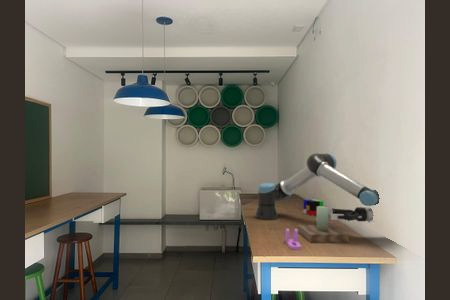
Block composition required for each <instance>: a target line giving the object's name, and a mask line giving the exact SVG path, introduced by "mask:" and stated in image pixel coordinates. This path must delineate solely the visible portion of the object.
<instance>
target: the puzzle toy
mask: <svg viewBox="0 0 450 300" xmlns="http://www.w3.org/2000/svg"><path fill="white" fill-rule="evenodd" d="M317 206H324V201H323V200H320V199H319V200H318V199H315V198H313V199H303V207H302V208H303V209H302V211H303V214H304V215H305V214H306V215H308V214H309V215H308V216H312V215H315V216H317Z"/></svg>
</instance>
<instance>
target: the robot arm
mask: <svg viewBox="0 0 450 300" xmlns="http://www.w3.org/2000/svg"><path fill="white" fill-rule="evenodd" d="M336 168H337V160H336V157H335V156H334V155H333V154H330V153H313V154H311V155H309V156H308V158H307V160H306V166H305V167H304V168H303V169H301V170H300V171H298V172H297V173H295V174H294V175H292V176H291V177H289V178H288V179H286V180H280V182H278V183H277V184H276V183H273V182H264V183H260V184H259V185H258V190H257V191H258V192H257V194H258V196H257V197H258V200H257V202H258V206H257V208H256V212H255V218H256V219H260V220H270V221H271V220H276V219H279V218H278V212H277V208H276V202H279V201H280V202H281V201H286V200H288V199H290V198H291V197H292V195H293V193H294V192H295V190H297V189H298V188H301V187H302V186H303V185H305V184H307V183H308V182H309V181H311V180H313V179H314V178H316V177H319V178H320V177H322V178H324V179H326V180H327V181H329V182H331V183H332V184H334V185H336V186H338V187H339V188H340V189H342V190H344V191H345V192H347V193H348V194H349V195H352V196H353V197H355V198H357V199H358V200H359V202H360V203H361V204H362V205H363V206H365V207H363V206H361V207H359V206H357V207H355V209H354V210H353V209H345V208H344V209H343V208H342V209H341V208H334V207H333V208H331V209H330V208H329V212H328V215H330V220H332V221H333V220H335V221H337V220H339V221H343V220H344V221H348V222H349V221H357V222H368V223H371V222H373V221H372V220H373V216H374V215H373V211H372V209H371V208H370V207H374V205H376V204H378V203H379V199H380V198H379V194H378V192H377V191H376V190H374V189H371V188H369V187H367V186H365V185H364V184H362V183H360V182H359V181H357V180H355V179H353V178H352V177H350V176H348V175H347V174H345V173H343V172H341V171H340V170H337V169H336Z"/></svg>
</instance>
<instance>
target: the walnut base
mask: <svg viewBox="0 0 450 300" xmlns="http://www.w3.org/2000/svg"><path fill="white" fill-rule="evenodd" d="M316 225H317V224H309V225H308V224H298V225H297V230H298V234H300V235H301V236H302V237H303V238H304V239H305V240H306V241H308V242H309V243H350V242H349V240H350V239H349V238H350V236H349V235H350V234H349V233H347V232H345V231H343V230H342V229H340V228H338V227H336V226H335V225H333V224H328V231H320V230H317V229H316Z"/></svg>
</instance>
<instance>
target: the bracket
mask: <svg viewBox="0 0 450 300" xmlns="http://www.w3.org/2000/svg"><path fill="white" fill-rule="evenodd" d="M284 233H285V234H284V236H285V237H284V239H285V240H284V241H285V243H286V245H287V246H288V248H289V249H291V250H301V249H302V245H301V243H300V242H299V233H298V228H293V238H290V229H289V228H285V232H284Z"/></svg>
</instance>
